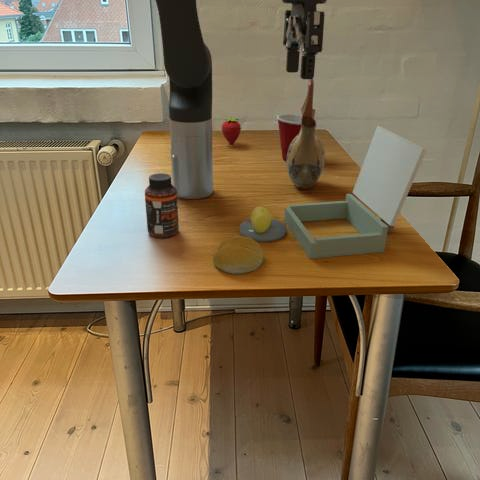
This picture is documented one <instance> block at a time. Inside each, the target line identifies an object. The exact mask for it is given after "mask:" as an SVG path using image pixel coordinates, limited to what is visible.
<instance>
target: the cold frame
mask: <svg viewBox="0 0 480 480" xmlns="http://www.w3.org/2000/svg"><path fill="white" fill-rule="evenodd" d="M359 200H360V199H359V198H357V197H355V195H354V194H353V193H346V195H345V200H337V201H323V202H310V203H309V202H307V203H295V204H294V203H293V204H289V206H286V207H285V206H284V215H283V216H284V217H283V221H284V223H285V224H286V226H287V228H288V230H290V232H291V234H292V235H293V236H294V238H295V239H296V241H297V242H298V244H299V245H300V247H301V248H302V250H303V251H304V252H305V254H306V255H307V256H308V258H309V259H311V260H312V259H321V258H332V257H342V256H344V257H345V256H354V255H365V254H375V253H385V246H386V242H387V237H388V233H387V231H388V226H387V225H386V224H385V223H383V222H382V221H381V218H379V216H377V214H374V213H373V211H371V209H370V208H369V207H368V206H366V205H364V203H363V202H362V201H361V200H360V201H359ZM337 219H338V220H339V219H345V220H347V221H348V222H349V223H350V225H351V226H352V227H354V229H355V230H356V231H357V232H358V233H355V234H345V235H334V236H333V235H332V236H320V237H315V238H314V237H313V236H312V235H311V233H310V232H309V230H308V229H307V227H305V226H304V224H303V223H302V222H312V221H313V222H314V221H327V220H337Z"/></svg>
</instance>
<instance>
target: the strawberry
mask: <svg viewBox="0 0 480 480" xmlns="http://www.w3.org/2000/svg"><path fill="white" fill-rule="evenodd" d="M221 120H223V121H224V122H223V123H222V125H221V131H222V135H223V137H224V138H225V140H226V141H227V142H228V143H229V145H230V146H233V145H235V143H236V141H237V140H238V138H239V136H240V134H241V129H242V128H241V124H240V123H239V120H240V119H239V118H234V117H231V118H221Z"/></svg>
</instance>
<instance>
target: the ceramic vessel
mask: <svg viewBox="0 0 480 480" xmlns="http://www.w3.org/2000/svg"><path fill="white" fill-rule="evenodd" d="M314 83H315V82H314V78H313V79H308V84H307V85H308V86H307V91H306V92H307V93H306V97H305V100H304V102H303V104H302V107H301V109H300V110H301V115H302V119H301V130H300V132H299V134H298V135H297V136H296V137H295V138H294V139H293V140H292V142H291V144H290V146H289V149H288V152H287V159H286V161H285V162H286V170H287V174H288V178H289V179H290V182H291V183H292V184H293V185H294V186H296V187H297V188H298V189H303V190H305V189H310V188H311V187H313V186H314V185H315V184H316V183H317V182H318V181H319V179H320V177H321V176H322V173H323V171H324V168H325V167H324V166H325V162H326V161H325V159H326V158H325V156H326V155H325V148H324V144H323V142H322V141H321V139H320V138H319V137H318V136H317V135H316V132H315V131H316V127H317V120H316V119H315V114H316V109H315V108H313V104H314V103H313V102H314V91H315V90H314V85H315V84H314ZM315 120H316V121H315Z"/></svg>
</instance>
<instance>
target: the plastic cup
mask: <svg viewBox="0 0 480 480" xmlns="http://www.w3.org/2000/svg"><path fill="white" fill-rule="evenodd" d="M276 119H277V125H278V130H279V131H278V132H279V133H278V134H279V139H280V140H279V143H280V150H281V157H282V160H283V161H285V162H286V159H287V152H288V149H289V146H290V144H291V142H292V140H293V139H294V138H295V137H296V136H297V135H298V134H299V132H300V130H301V119H302V114H295V113H281V114H278V115H277V116H276ZM314 120H315V121H316V122H317V120H316V119H314Z"/></svg>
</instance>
